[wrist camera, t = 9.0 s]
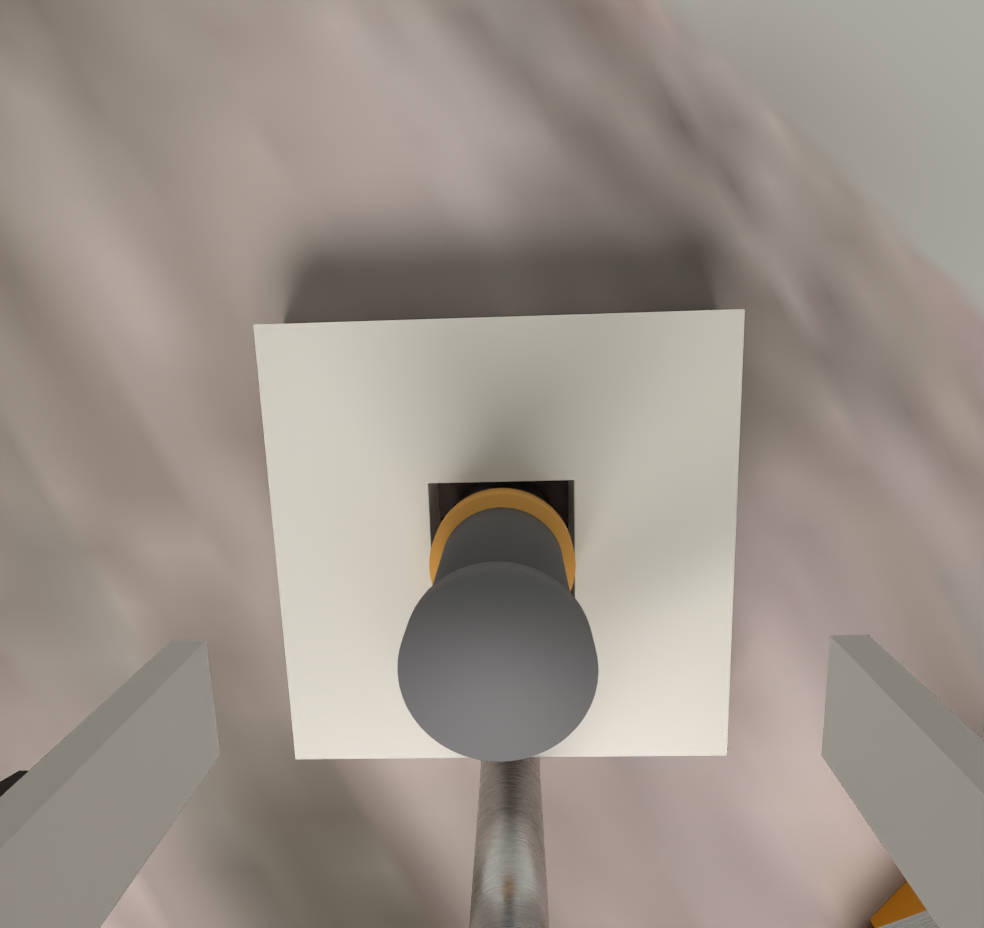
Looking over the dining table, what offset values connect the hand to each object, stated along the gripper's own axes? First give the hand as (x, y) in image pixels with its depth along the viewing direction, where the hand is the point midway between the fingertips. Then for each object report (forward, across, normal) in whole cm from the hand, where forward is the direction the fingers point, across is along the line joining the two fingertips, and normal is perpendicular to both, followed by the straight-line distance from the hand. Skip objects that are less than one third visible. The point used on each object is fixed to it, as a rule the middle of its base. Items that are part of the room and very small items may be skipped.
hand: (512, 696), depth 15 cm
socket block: (+13, 0, 0) cm, 13 cm away
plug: (+13, 0, 0) cm, 13 cm away
